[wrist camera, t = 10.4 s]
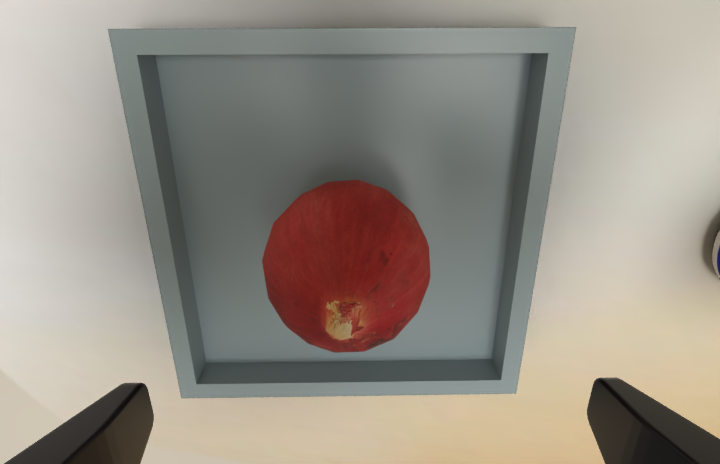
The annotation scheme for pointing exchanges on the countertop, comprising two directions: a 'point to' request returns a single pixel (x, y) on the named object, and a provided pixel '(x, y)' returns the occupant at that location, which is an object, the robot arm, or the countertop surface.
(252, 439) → the countertop surface
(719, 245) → the beverage can
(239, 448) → the countertop surface
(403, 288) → the onion
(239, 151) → the tray
